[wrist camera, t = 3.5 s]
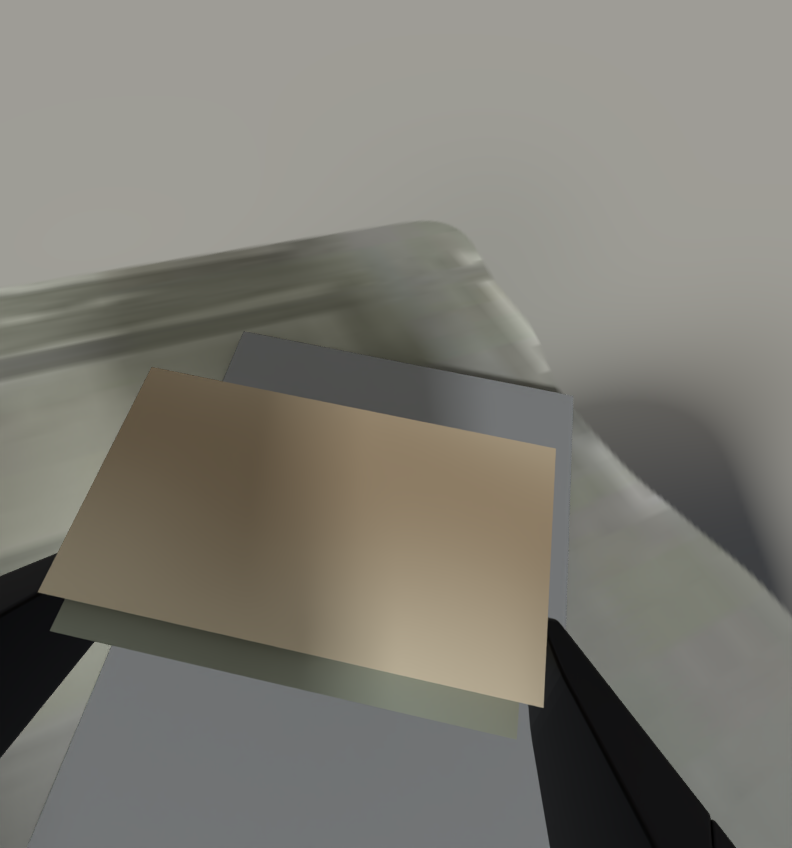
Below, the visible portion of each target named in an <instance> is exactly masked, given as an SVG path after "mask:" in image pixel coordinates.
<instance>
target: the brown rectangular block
mask: <svg viewBox="0 0 792 848" xmlns="http://www.w3.org/2000/svg"><path fill="white" fill-rule="evenodd" d="M555 458H556V449H555V448H550V447H546V446H541V445H536V444H531V443H526V442H521V441H516V440H511V439H506V438H501V437H496V436H491V435H486V434H481V433H476V432H471V431H466V430H461V429H456V428H451V427H446V426H441V425H436V424H432V423H427V422H422V421H417V420H412V419H407V418H402V417H397V416H392V415H387V414H382V413H377V412H372V411H367V410H362V409H357V408H352V407H347V406H342V405H337V404H332V403H327V402H322V401H317V400H313V399H308V398H303V397H298V396H293V395H288V394H283V393H278V392H273V391H268V390H263V389H258V388H253V387H248V386H243V385H238V384H233V383H228V382H223V381H218V380H213V379H208V378H203V377H198V376H194V375H189V374H184V373H179V372H174V371H169V370H164V369H159V368H154V367H151V369H150V371H149V373H148V375H147V377H146V379H145V381H144V383H143V385H142V387H141V389H140V391H139V393H138V395H137V397H136V399H135V401H134V403H133V405H132V407H131V409H130V411H129V413H128V415H127V417H126V419H125V421H124V423H123V425H122V427H121V429H120V431H119V433H118V435H117V436H116V438H115V440H114V442H113V444H112V446H111V448H110V450H109V452H108V454H107V456H106V458H105V460H104V462H103V464H102V466H101V468H100V470H99V472H98V474H97V476H96V478H95V480H94V482H93V484H92V486H91V488H90V490H89V492H88V494H87V496H86V498H85V500H84V502H83V504H82V506H81V508H80V510H79V512H78V513H77V515H76V517H75V519H74V521H73V523H72V525H71V527H70V529H69V531H68V533H67V535H66V537H65V539H64V541H63V543H62V545H61V547H60V549H59V551H58V553H57V555H56V557H55V559H54V561H53V563H52V565H51V567H50V569H49V571H48V573H47V575H46V577H45V579H44V581H43V583H42V585H41V587H40V589H39V591H38V592H39V593H43V594H48V595H52V596H56V597H61V598H65V600H64V602H63V604H62V606H61V608H60V610H59V612H58V614H57V617H56V619H55V621H54V623H53V625H52V627H51V629H50V631H52V632H56V633H61V634H65V635H69V636H73V637H78V638H82V639H86V640H91V641H95V642H99V643H104V644H108V645H112V646H116V647H121V648H125V649H129V650H134V651H138V652H142V653H147V654H151V655H155V656H159V657H164V658H168V659H172V660H177V661H181V662H185V663H189V664H194V665H198V666H202V667H207V668H211V669H215V670H220V671H224V672H228V673H232V674H237V675H241V676H245V677H250V678H254V679H258V680H263V681H267V682H271V683H275V684H280V685H284V686H288V687H293V688H297V689H301V690H306V691H310V692H314V693H318V694H323V695H327V696H331V697H336V698H340V699H344V700H348V701H353V702H357V703H361V704H366V705H370V706H374V707H379V708H383V709H387V710H391V711H396V712H400V713H404V714H409V715H413V716H417V717H422V718H426V719H430V720H434V721H439V722H443V723H447V724H452V725H456V726H460V727H464V728H469V729H473V730H477V731H482V732H486V733H490V734H495V735H499V736H503V737H507V738H512V739H516V740H517V729H518V714H519V702H520V703H524V704H528V705H533V706H537V707H542V708H544V687H545V666H546V646H547V625H548V604H549V583H550V562H551V541H552V520H553V500H554V479H555Z"/></svg>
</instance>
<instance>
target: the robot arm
mask: <svg viewBox="0 0 792 848" xmlns="http://www.w3.org/2000/svg"><path fill="white" fill-rule="evenodd" d="M56 555H57V553H56V554H54V555H51V556H49V557H46V558H44V559H41V560H39V561H36V562H34V563H32V564H29V565H27V566H24V567H22V568H19V569H17V570H14V571H12V572H9V573H7V574H4V575H2V576H0V758H1V757H2V755H3V754H4V753H5V752H6V750H7V749H8V748H9V747H10V745H11V744H12V743H13V742H14V740H15V739H16V738H17V737H18V736H19V734H20V733H21V732H22V731H23V729H24V728H25V727H26V726H27V724H28V723H29V722H30V721H31V719H32V718H33V717H34V716H35V715H36V713H37V712H38V711H39V710H40V708H41V707H42V706H43V705H44V703H45V702H46V701H47V700H48V698H49V697H50V696H51V695H52V694H53V692H54V691H55V690H56V689H57V687H58V686H59V685H60V684H61V682H62V681H63V680H64V679H65V677H66V676H67V675H68V674H69V673H70V671H71V670H72V669H73V668H74V666H75V665H76V664H77V663H78V661H79V660H80V659H81V658H82V656H83V655H84V654H85V653H86V652H87V650H88V649H89V648H90V647H91V645H92V644H93V643H94V642H95V641H91V640H86V639H82V638H78V637H73V636H69V635H65V634H61V633H56V632H52V631H50V629H51V627H52V625H53V623H54V621H55V619H56V617H57V614H58V612H59V610H60V608H61V606H62V604H63V602H64V600H65V598H61V597H56V596H52V595H48V594H43V593H39V592H38V591H39V589H40V587H41V585H42V583H43V581H44V579H45V577H46V575H47V573H48V571H49V569H50V567H51V565H52V563H53V561H54V559H55V557H56ZM528 710H529V722H530V731H531V738H532V745H533V751H534V757H535V763H536V769H537V774H538V780H539V786H540V792H541V798H542V804H543V810H544V816H545V822H546V828H547V834H548V840H549V846H550V848H736V847H735V846H734V844H733V843H732V842H731V841H730V839H729V838H728V837H727V835H726V834H725V833H724V832H723V830H722V829H721V828H720V826H719V825H718V824H717V823H716V822H715V821H714V820H711V818H710V814H709V813H708V811H707V810H706V809H705V808H704V806H703V805H702V804H701V802H700V801H699V800H698V799H697V797H696V796H695V795H694V794H693V792H692V791H691V790H690V788H689V787H688V786H687V785H686V783H685V782H684V781H683V779H682V778H681V777H680V776H679V774H678V773H677V772H676V770H675V769H674V768H673V767H672V765H671V764H670V763H669V762H668V760H667V759H666V758H665V756H664V755H663V754H662V753H661V751H660V750H659V749H658V747H657V746H656V745H655V744H654V742H653V741H652V740H651V739H650V737H649V736H648V735H647V733H646V732H645V731H644V730H643V728H642V727H641V726H640V724H639V723H638V722H637V721H636V719H635V718H634V717H633V716H632V714H631V713H630V712H629V710H628V709H627V708H626V707H625V705H624V704H623V703H622V701H621V700H620V699H619V698H618V696H617V695H616V694H615V693H614V691H613V690H612V689H611V687H610V686H609V685H608V684H607V682H606V681H605V680H604V678H603V677H602V676H601V675H600V673H599V672H598V671H597V670H596V668H595V667H594V666H593V664H592V663H591V662H590V661H589V659H588V658H587V657H586V655H585V654H584V653H583V652H582V650H581V649H580V648H579V647H578V645H577V644H576V643H575V641H574V640H573V639H572V638H571V636H570V635H569V634H568V632H567V631H566V630H565V629H564V627H563V626H562V625H561V624H560V622H559V621H557V620H556V619H554V618H549V617H548V625H547V646H546V666H545V687H544V708H542V707H537V706H533V705H528Z"/></svg>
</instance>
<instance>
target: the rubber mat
mask: <svg viewBox="0 0 792 848" xmlns="http://www.w3.org/2000/svg"><path fill="white" fill-rule="evenodd" d="M223 382H228V383H233V384H238V385H243V386H248V387H253V388H258V389H263V390H268V391H273V392H278V393H283V394H288V395H293V396H298V397H303V398H308V399H313V400H317V401H322V402H327V403H332V404H337V405H342V406H347V407H352V408H357V409H362V410H367V411H372V412H377V413H382V414H387V415H392V416H397V417H402V418H407V419H412V420H417V421H422V422H427V423H432V424H436V425H441V426H446V427H451V428H456V429H461V430H466V431H471V432H476V433H481V434H486V435H491V436H496V437H501V438H506V439H511V440H516V441H521V442H526V443H531V444H536V445H541V446H546V447H550V448H555V449H556V458H555V479H554V500H553V520H552V541H551V562H550V583H549V604H548V617H549V618H554V619H556V620H557V621H559V622H560V624H561V625H562V626H563V627H564V629H565V630H566V610H567V579H568V547H569V516H570V484H571V453H572V421H573V396H571V395H566V394H561V393H556V392H551V391H546V390H541V389H536V388H530V387H525V386H520V385H515V384H510V383H505V382H500V381H495V380H490V379H484V378H479V377H474V376H469V375H464V374H459V373H454V372H449V371H444V370H439V369H433V368H428V367H423V366H418V365H413V364H408V363H403V362H398V361H393V360H387V359H382V358H377V357H372V356H367V355H362V354H357V353H352V352H347V351H342V350H336V349H331V348H326V347H321V346H316V345H311V344H306V343H301V342H296V341H291V340H285V339H280V338H275V337H270V336H265V335H260V334H255V333H250V332H245V331H244V332H243V334H242V337H241V339H240V341H239V344H238V346H237V348H236V351H235V353H234V356H233V358H232V360H231V363H230V365H229V368H228V370H227V372H226V375H225V377H224V379H223ZM27 848H550V846H549V840H548V834H547V828H546V822H545V816H544V810H543V804H542V798H541V792H540V786H539V780H538V774H537V769H536V763H535V757H534V751H533V745H532V738H531V731H530V722H529V710H528V704H524V703H520V702H519V714H518V729H517V740H516V739H512V738H507V737H503V736H499V735H495V734H490V733H486V732H482V731H477V730H473V729H469V728H464V727H460V726H456V725H452V724H447V723H443V722H439V721H434V720H430V719H426V718H422V717H417V716H413V715H409V714H404V713H400V712H396V711H391V710H387V709H383V708H379V707H374V706H370V705H366V704H361V703H357V702H353V701H348V700H344V699H340V698H336V697H331V696H327V695H323V694H318V693H314V692H310V691H306V690H301V689H297V688H293V687H288V686H284V685H280V684H275V683H271V682H267V681H263V680H258V679H254V678H250V677H245V676H241V675H237V674H232V673H228V672H224V671H220V670H215V669H211V668H207V667H202V666H198V665H194V664H189V663H185V662H181V661H177V660H172V659H168V658H164V657H159V656H155V655H151V654H147V653H142V652H138V651H134V650H129V649H125V648H121V647H116V646H111V648H110V651H109V653H108V656H107V658H106V660H105V663H104V665H103V668H102V670H101V672H100V675H99V677H98V679H97V682H96V684H95V687H94V689H93V691H92V694H91V696H90V698H89V701H88V703H87V706H86V708H85V710H84V713H83V715H82V718H81V720H80V722H79V725H78V727H77V729H76V732H75V734H74V737H73V739H72V741H71V744H70V746H69V749H68V751H67V753H66V756H65V758H64V760H63V763H62V765H61V768H60V770H59V772H58V775H57V777H56V779H55V782H54V784H53V787H52V789H51V791H50V794H49V796H48V799H47V801H46V803H45V806H44V808H43V810H42V813H41V815H40V818H39V820H38V822H37V825H36V827H35V829H34V832H33V834H32V837H31V839H30V841H29V844H28V846H27Z"/></svg>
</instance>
